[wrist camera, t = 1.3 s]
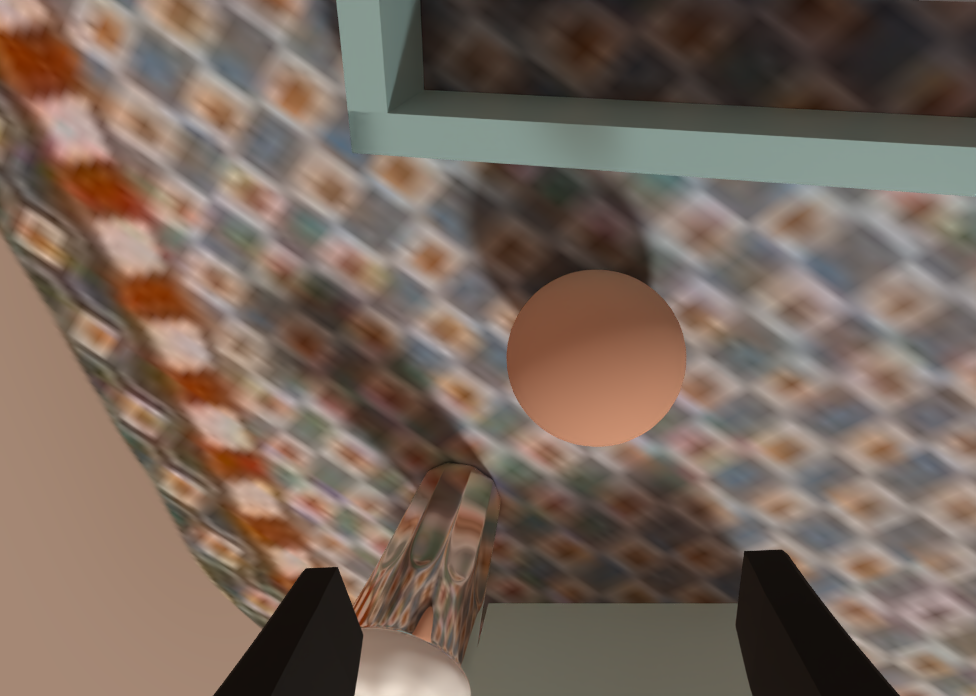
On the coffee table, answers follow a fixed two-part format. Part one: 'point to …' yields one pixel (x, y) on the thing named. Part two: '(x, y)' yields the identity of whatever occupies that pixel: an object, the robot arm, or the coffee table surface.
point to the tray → (951, 0)
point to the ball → (596, 358)
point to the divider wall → (631, 125)
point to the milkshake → (430, 589)
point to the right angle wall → (610, 650)
